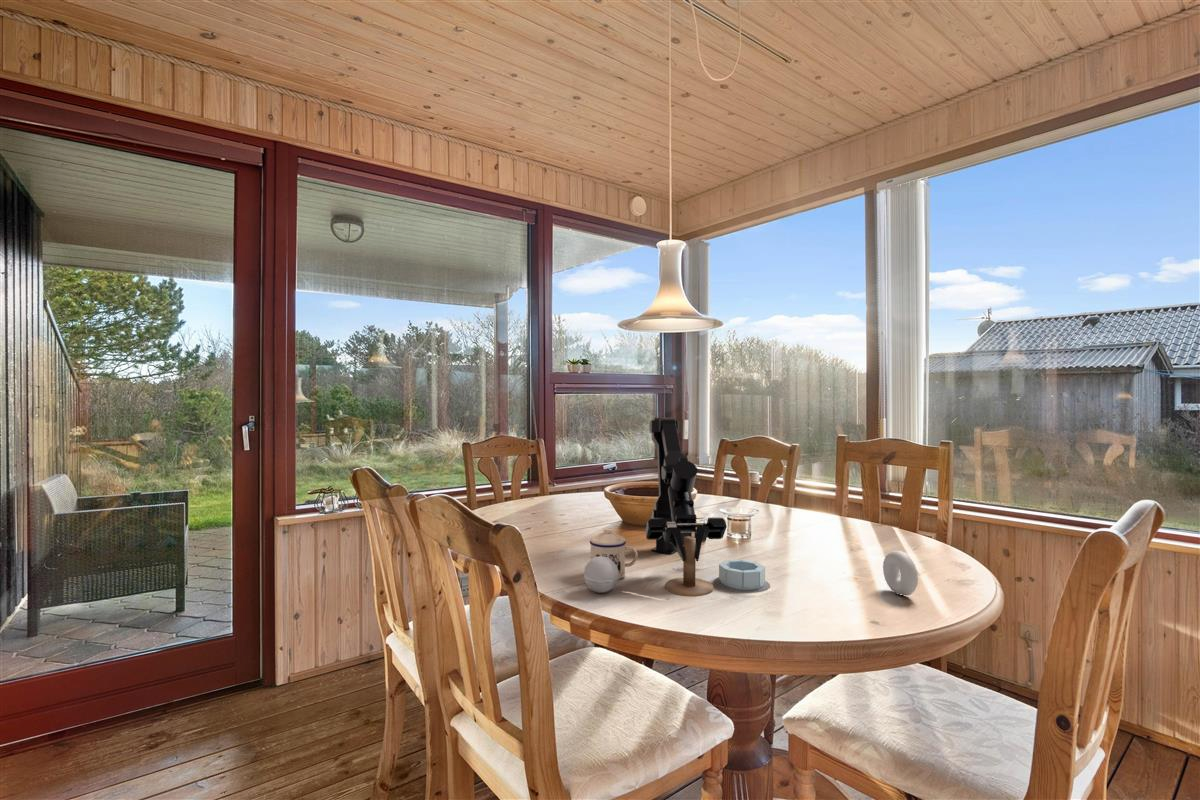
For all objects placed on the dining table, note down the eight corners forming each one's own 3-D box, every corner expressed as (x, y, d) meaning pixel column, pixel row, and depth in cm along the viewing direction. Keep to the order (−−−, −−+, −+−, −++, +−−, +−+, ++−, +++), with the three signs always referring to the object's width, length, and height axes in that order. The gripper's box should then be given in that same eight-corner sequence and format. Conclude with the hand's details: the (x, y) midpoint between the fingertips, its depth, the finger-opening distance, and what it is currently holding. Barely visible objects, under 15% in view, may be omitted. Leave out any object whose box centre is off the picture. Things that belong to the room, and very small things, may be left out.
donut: (879, 587, 133) (879, 545, 133) (893, 587, 134) (893, 545, 134) (906, 603, 123) (906, 557, 123) (921, 602, 124) (921, 556, 124)
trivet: (725, 573, 144) (725, 571, 144) (777, 582, 136) (777, 581, 136) (705, 587, 133) (705, 585, 133) (759, 598, 126) (759, 596, 126)
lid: (678, 578, 139) (678, 530, 139) (720, 587, 133) (720, 536, 133) (657, 591, 130) (657, 539, 130) (701, 601, 124) (701, 546, 124)
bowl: (729, 574, 142) (729, 557, 142) (769, 581, 136) (769, 564, 136) (713, 585, 133) (713, 567, 133) (755, 593, 128) (755, 574, 128)
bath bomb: (620, 587, 133) (620, 553, 133) (615, 598, 125) (616, 562, 125) (587, 585, 134) (587, 551, 134) (580, 596, 126) (580, 560, 126)
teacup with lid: (588, 581, 137) (588, 533, 137) (590, 569, 146) (591, 524, 146) (637, 582, 137) (638, 533, 137) (637, 570, 146) (637, 525, 146)
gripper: (712, 521, 147) (723, 576, 136) (641, 521, 146) (646, 577, 135) (720, 496, 139) (733, 553, 128) (645, 496, 138) (651, 553, 127)
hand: (690, 560), depth 130 cm, fingers closed on lid, 3 cm apart
